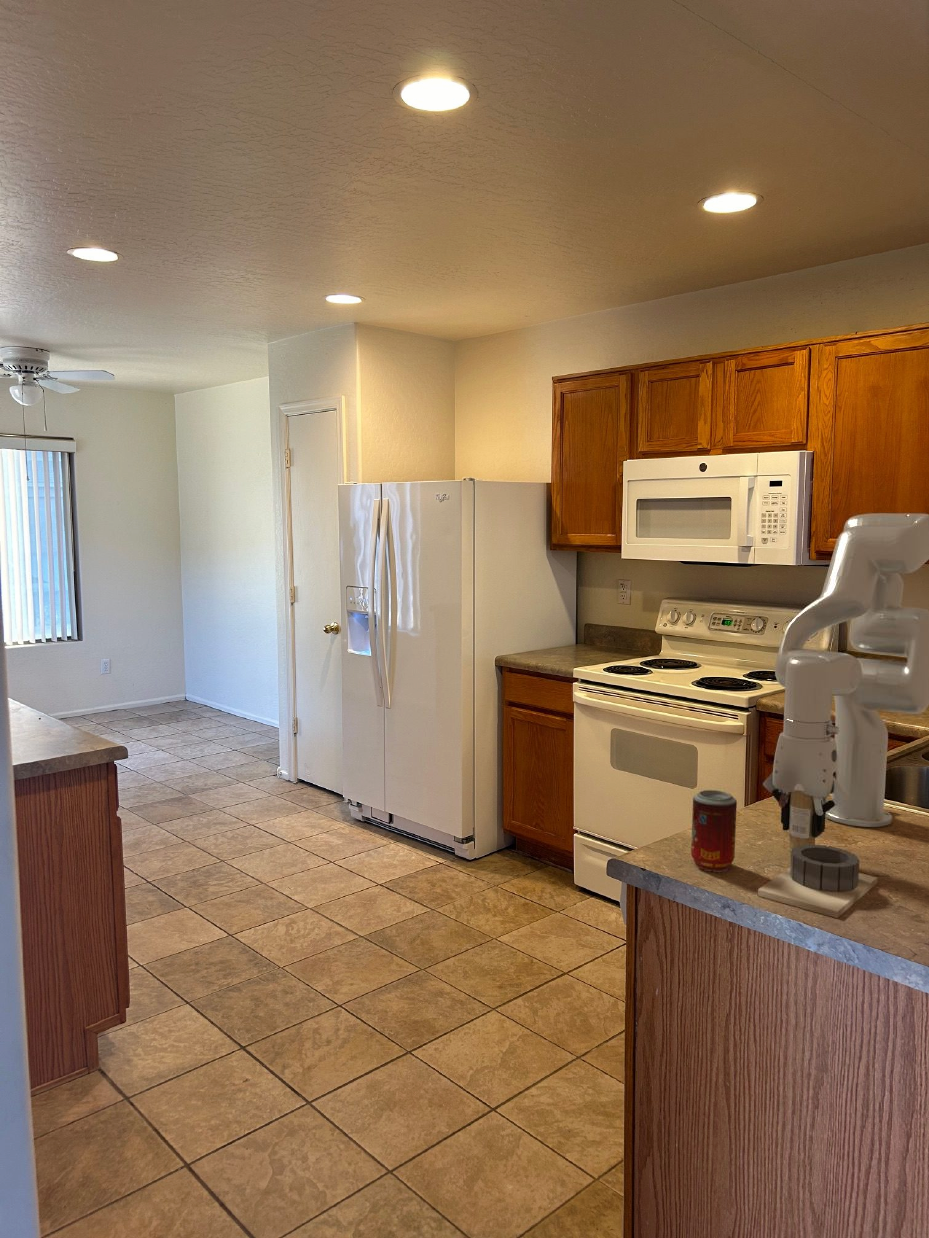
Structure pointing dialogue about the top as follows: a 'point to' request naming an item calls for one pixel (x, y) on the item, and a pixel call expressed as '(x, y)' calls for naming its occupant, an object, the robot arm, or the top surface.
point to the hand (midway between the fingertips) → (802, 830)
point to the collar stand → (820, 880)
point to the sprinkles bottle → (800, 819)
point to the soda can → (713, 830)
